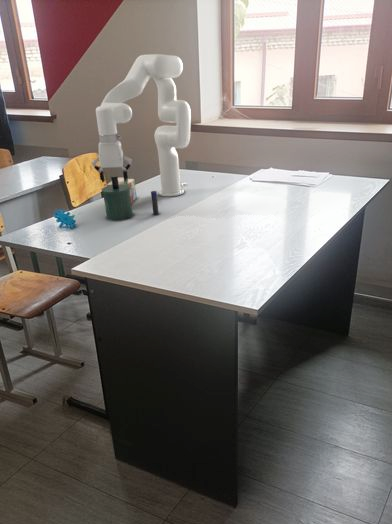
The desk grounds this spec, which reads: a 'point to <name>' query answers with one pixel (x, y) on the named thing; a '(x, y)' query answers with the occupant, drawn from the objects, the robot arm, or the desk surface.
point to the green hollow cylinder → (118, 206)
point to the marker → (154, 202)
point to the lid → (115, 187)
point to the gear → (65, 219)
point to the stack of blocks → (130, 183)
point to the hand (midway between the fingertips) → (114, 181)
